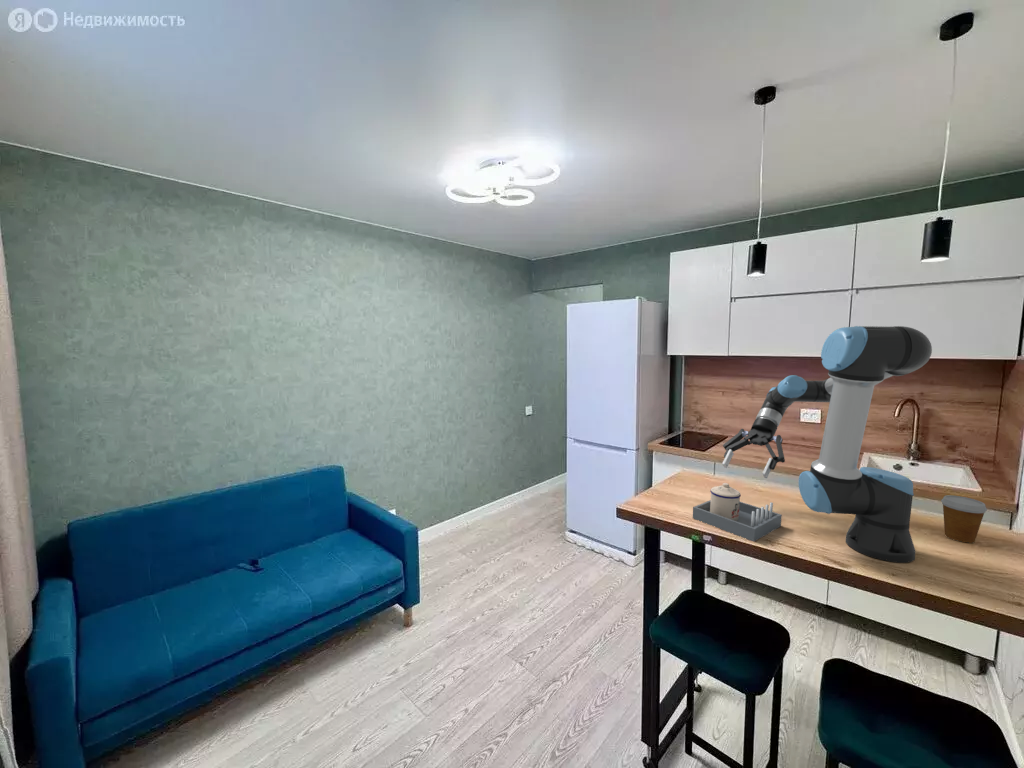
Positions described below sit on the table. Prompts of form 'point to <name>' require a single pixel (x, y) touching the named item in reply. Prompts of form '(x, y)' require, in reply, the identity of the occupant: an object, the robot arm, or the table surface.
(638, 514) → the table surface
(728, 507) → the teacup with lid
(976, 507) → the disposable coffee cup
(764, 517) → the dish rack
